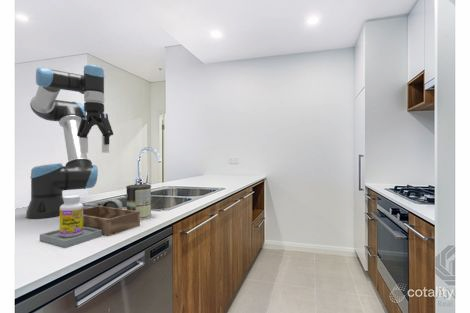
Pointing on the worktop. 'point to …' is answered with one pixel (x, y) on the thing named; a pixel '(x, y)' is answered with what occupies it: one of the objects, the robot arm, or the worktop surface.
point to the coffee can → (139, 199)
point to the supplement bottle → (71, 216)
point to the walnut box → (110, 219)
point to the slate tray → (70, 241)
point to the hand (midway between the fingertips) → (94, 152)
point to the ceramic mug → (113, 203)
